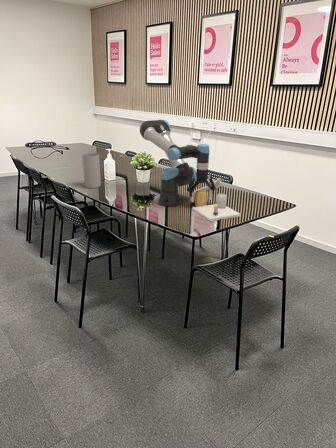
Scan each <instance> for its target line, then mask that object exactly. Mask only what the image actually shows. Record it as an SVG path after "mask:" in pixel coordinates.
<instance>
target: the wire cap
mask: <svg viewBox="0 0 336 448" xmlns="http://www.w3.org/2000/svg"><path fill="white" fill-rule="evenodd" d="M195 190H196V194H194V196H195V200H194V201H195V202H194V207H200V206H206V205H207V200H208V198H207V196H208V193H207V191H208V190H206V191H205V190H198V189H195Z"/></svg>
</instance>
